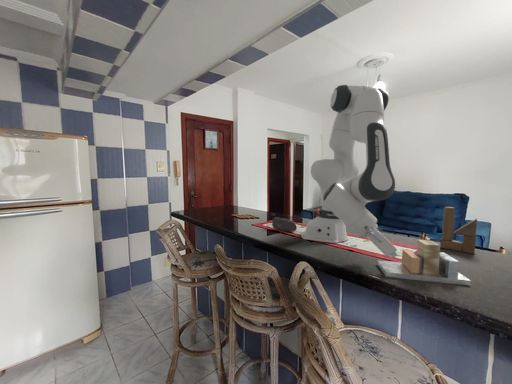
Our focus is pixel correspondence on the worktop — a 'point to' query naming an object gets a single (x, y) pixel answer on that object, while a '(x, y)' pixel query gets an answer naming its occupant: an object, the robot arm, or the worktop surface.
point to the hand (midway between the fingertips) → (394, 255)
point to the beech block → (429, 256)
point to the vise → (445, 273)
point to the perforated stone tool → (283, 224)
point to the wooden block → (466, 230)
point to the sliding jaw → (411, 261)
